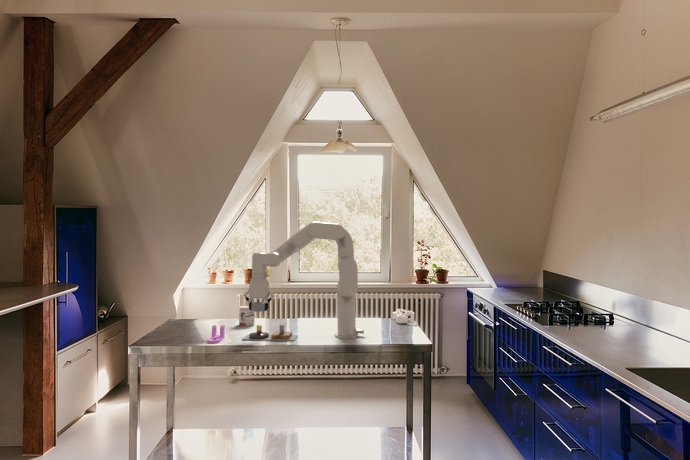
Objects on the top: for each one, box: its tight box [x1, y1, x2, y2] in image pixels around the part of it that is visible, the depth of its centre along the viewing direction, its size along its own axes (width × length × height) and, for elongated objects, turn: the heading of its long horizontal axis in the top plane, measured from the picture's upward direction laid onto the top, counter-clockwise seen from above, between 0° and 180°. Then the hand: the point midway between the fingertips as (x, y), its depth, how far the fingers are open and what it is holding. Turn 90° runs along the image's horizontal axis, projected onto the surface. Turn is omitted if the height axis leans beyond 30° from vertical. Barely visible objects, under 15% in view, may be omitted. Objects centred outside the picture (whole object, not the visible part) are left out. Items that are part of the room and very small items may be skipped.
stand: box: [270, 324, 293, 339], centre depth 243 cm, size 9×9×6 cm
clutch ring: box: [251, 301, 266, 313], centre depth 244 cm, size 7×7×4 cm
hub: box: [248, 324, 270, 339], centre depth 244 cm, size 10×10×6 cm
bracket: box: [207, 324, 226, 344], centre depth 238 cm, size 13×6×7 cm, turn 1°
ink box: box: [238, 305, 255, 327], centre depth 275 cm, size 9×5×12 cm, turn 105°
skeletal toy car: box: [392, 308, 415, 325], centre depth 286 cm, size 20×11×7 cm, turn 5°
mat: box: [241, 334, 299, 342], centre depth 243 cm, size 27×11×1 cm, turn 86°
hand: (258, 310), depth 244 cm, fingers closed on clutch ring, 7 cm apart
